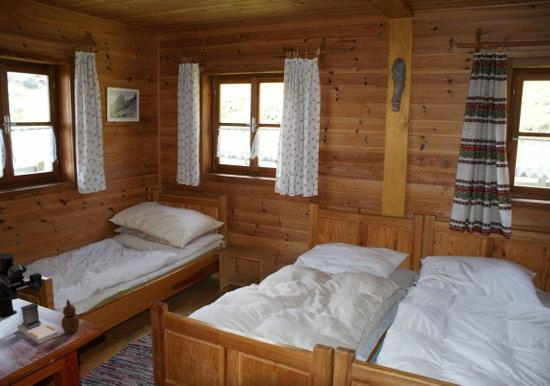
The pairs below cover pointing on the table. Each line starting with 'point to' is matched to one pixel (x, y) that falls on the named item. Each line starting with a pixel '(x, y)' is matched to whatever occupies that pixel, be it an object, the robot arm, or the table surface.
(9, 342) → the table surface
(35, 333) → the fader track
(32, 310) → the fader knob
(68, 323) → the wooden figurine
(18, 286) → the robot arm
